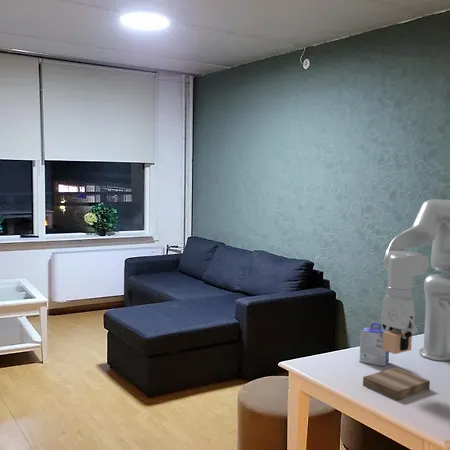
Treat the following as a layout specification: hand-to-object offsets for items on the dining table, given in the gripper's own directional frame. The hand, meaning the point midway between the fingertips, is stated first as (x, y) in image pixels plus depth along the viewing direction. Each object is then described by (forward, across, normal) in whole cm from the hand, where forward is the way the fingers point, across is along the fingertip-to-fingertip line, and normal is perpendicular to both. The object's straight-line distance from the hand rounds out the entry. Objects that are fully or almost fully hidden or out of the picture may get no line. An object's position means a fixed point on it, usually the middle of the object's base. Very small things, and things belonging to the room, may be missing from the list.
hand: (397, 346), depth 179 cm
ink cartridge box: (+14, -20, +13) cm, 28 cm away
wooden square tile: (+14, 0, +1) cm, 14 cm away
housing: (+1, 0, 0) cm, 1 cm away
